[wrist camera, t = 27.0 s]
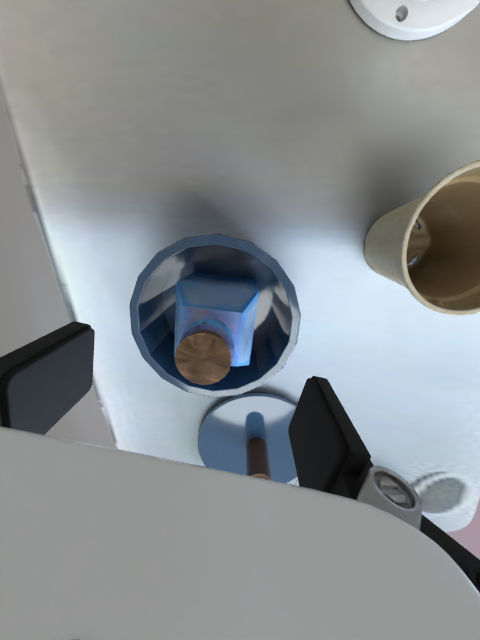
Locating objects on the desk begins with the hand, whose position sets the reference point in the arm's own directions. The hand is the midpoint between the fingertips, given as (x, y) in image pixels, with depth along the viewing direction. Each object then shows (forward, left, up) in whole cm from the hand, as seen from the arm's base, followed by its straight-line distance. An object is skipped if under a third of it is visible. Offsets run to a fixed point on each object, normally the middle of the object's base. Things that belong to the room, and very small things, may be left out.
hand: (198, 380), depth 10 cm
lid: (+17, +8, -15) cm, 24 cm away
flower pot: (-9, +15, -16) cm, 24 cm away
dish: (+1, 0, -16) cm, 15 cm away
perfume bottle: (+1, 0, -15) cm, 15 cm away
